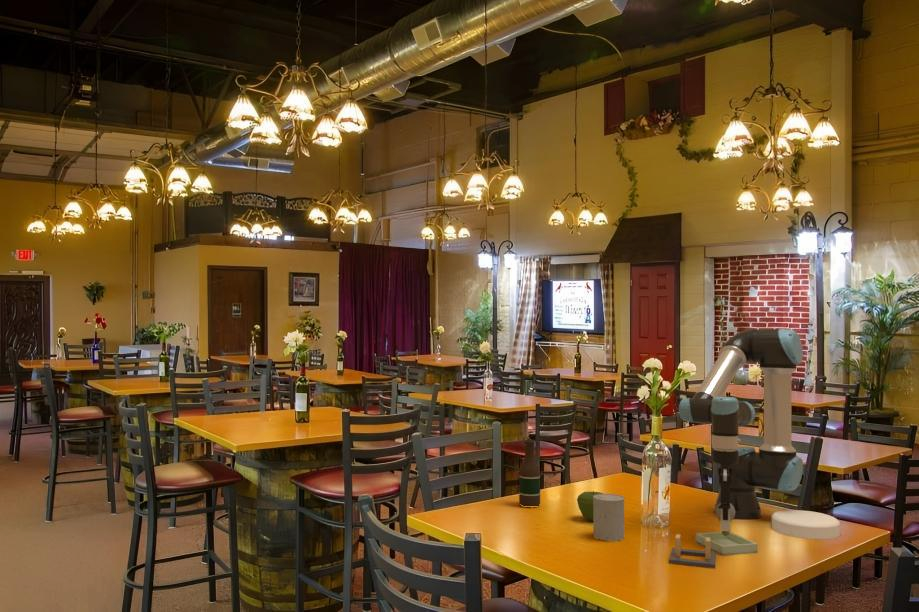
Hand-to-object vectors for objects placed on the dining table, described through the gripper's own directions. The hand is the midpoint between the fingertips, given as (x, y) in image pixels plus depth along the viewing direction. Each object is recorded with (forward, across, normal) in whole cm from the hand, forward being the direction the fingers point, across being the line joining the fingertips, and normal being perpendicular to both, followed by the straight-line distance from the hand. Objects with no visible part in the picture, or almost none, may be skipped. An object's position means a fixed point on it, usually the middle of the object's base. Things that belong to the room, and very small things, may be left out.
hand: (725, 528), depth 217 cm
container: (+6, +29, -24) cm, 38 cm away
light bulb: (+3, 0, 0) cm, 3 cm away
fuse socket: (+6, -16, +8) cm, 19 cm away
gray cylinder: (+6, -2, +34) cm, 35 cm away
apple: (+6, +17, +42) cm, 46 cm away
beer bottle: (+6, +28, +68) cm, 73 cm away
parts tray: (+6, 0, 0) cm, 6 cm away
